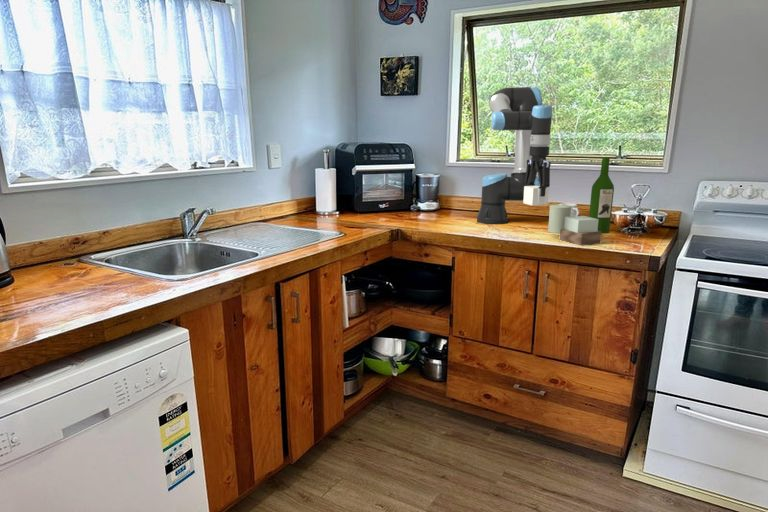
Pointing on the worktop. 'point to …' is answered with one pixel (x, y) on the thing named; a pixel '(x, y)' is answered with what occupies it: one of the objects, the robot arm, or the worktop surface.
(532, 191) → the cube
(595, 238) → the base block
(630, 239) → the worktop surface
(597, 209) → the wine bottle
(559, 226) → the can
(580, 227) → the top block
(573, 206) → the mug
